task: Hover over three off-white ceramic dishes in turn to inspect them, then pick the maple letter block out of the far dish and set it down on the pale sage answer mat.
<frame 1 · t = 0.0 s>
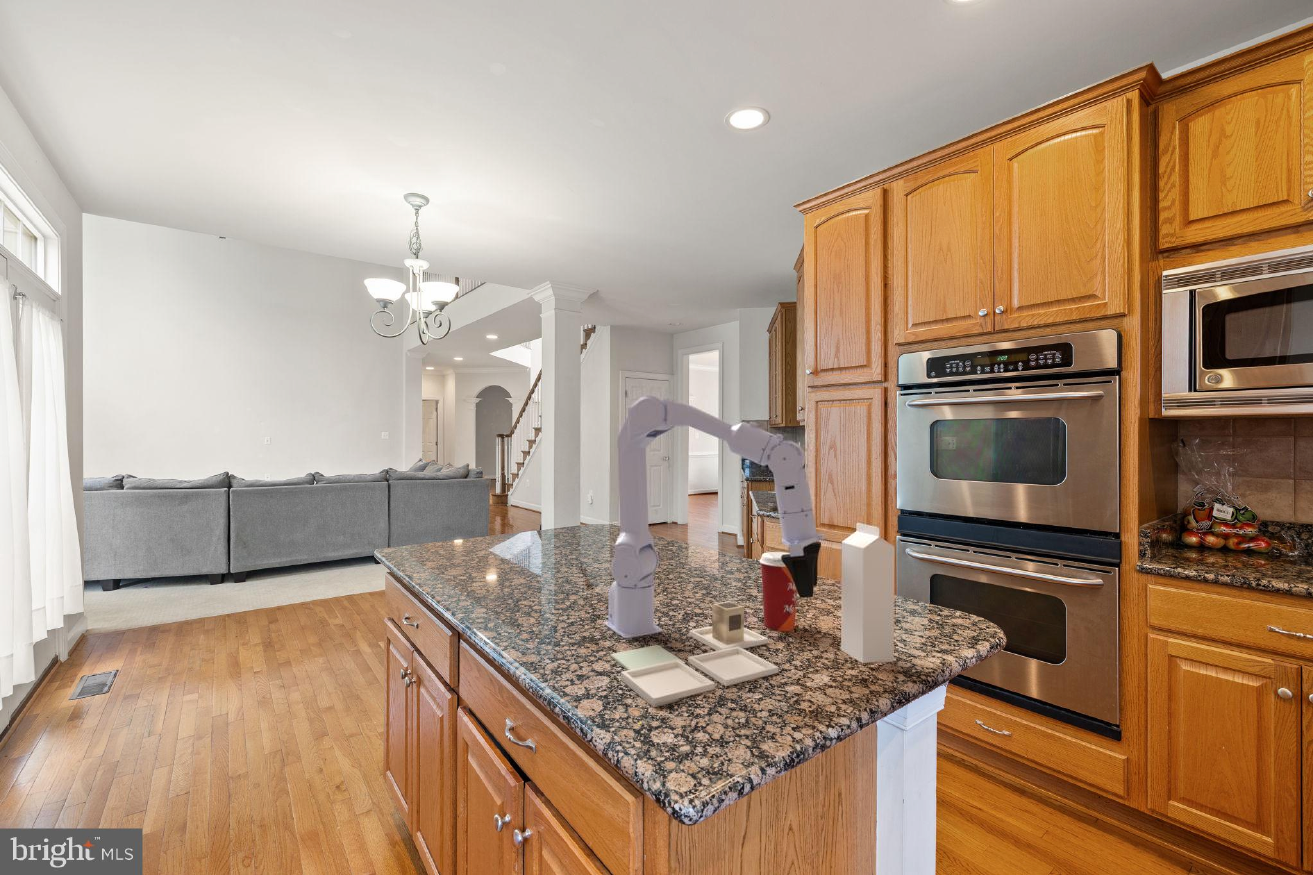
hand: (808, 591, 96), 11 cm above the countertop, tool pointing down, fingers open, 7 cm apart
dish b: (732, 669, 89), on the countertop
answer mat: (647, 660, 92), on the countertop
milk: (866, 658, 95), on the countertop
dish a: (666, 685, 83), on the countertop
dish c: (727, 641, 102), on the countertop
letter block: (727, 638, 102), resting on dish c
paper cup: (779, 629, 109), on the countertop
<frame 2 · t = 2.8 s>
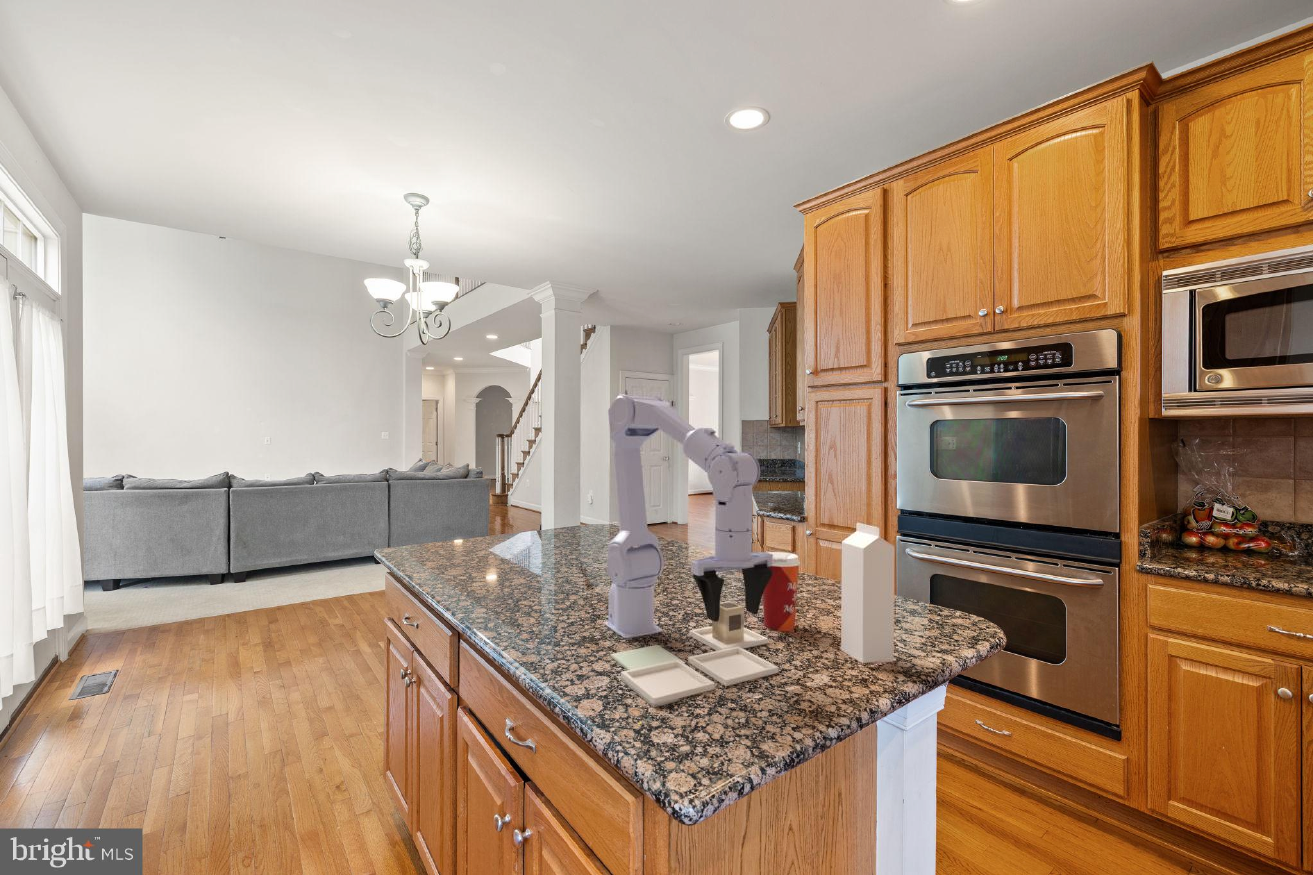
hand: (732, 615, 89), 8 cm above the countertop, tool pointing down, fingers open, 7 cm apart
nothing on the countertop moved.
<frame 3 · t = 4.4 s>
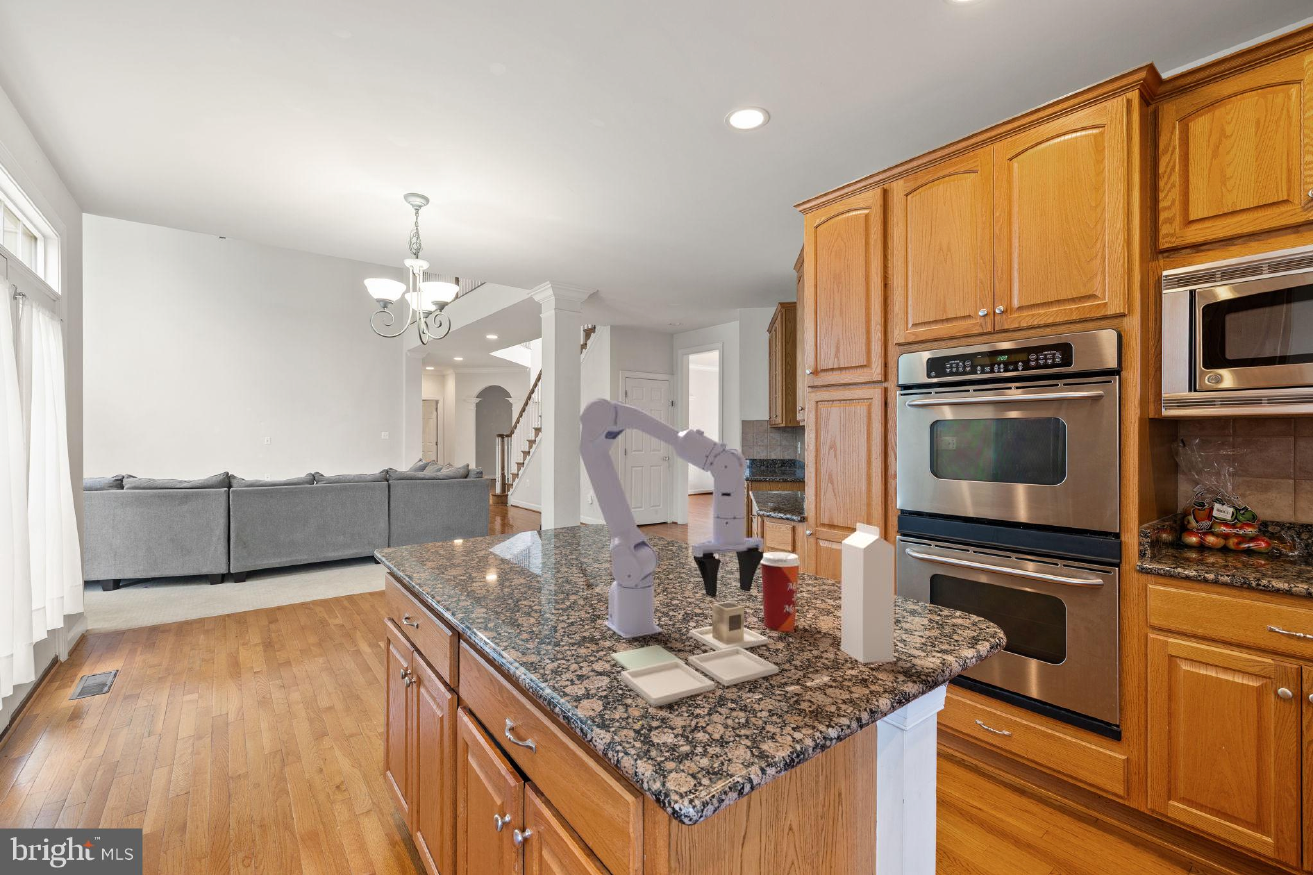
hand: (728, 592, 102), 9 cm above the countertop, tool pointing down, fingers open, 7 cm apart
nothing on the countertop moved.
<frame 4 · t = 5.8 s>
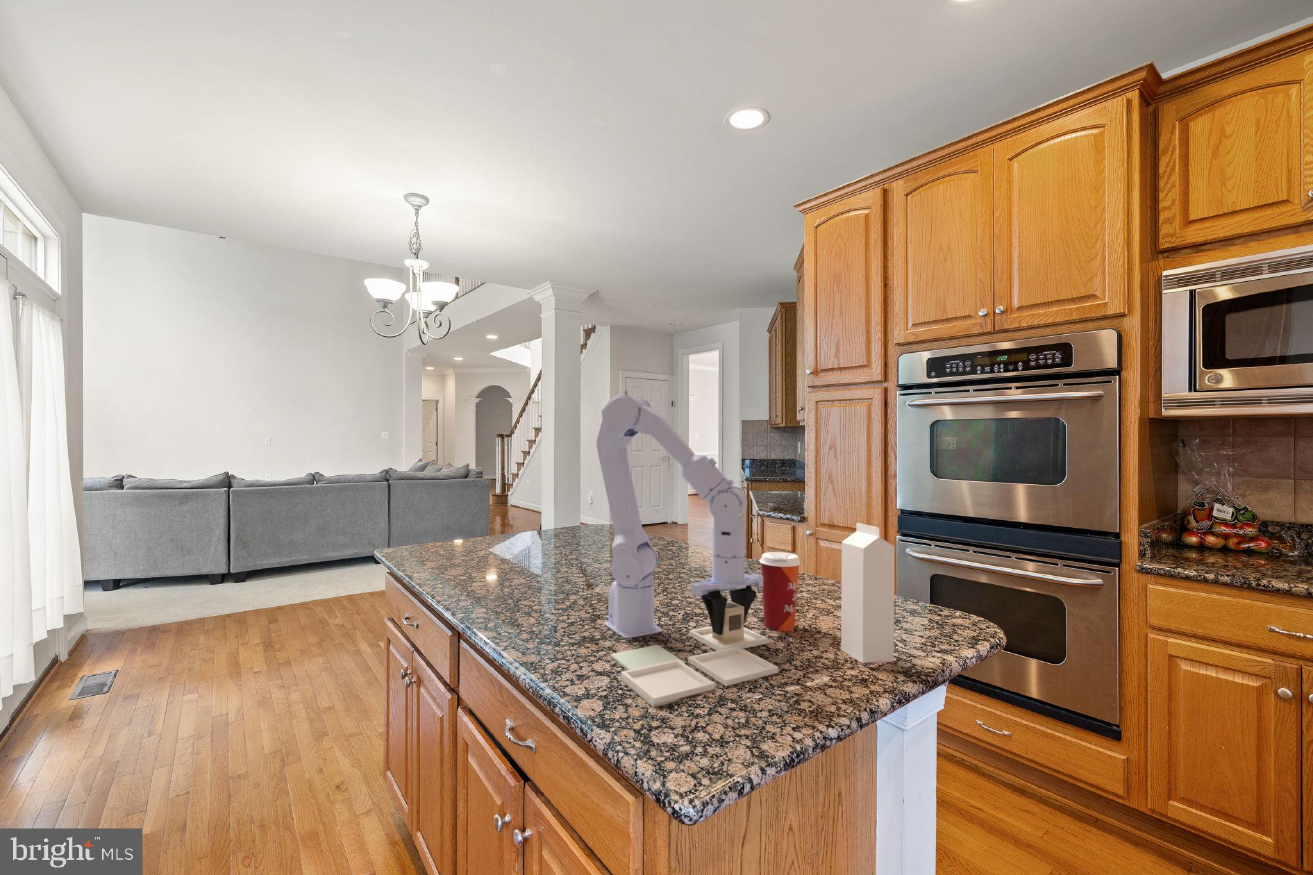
hand: (727, 631, 102), 2 cm above the countertop, tool pointing down, fingers closed on letter block, 4 cm apart
letter block: (727, 638, 102), resting on dish c, touching gripper
everything else where it was.
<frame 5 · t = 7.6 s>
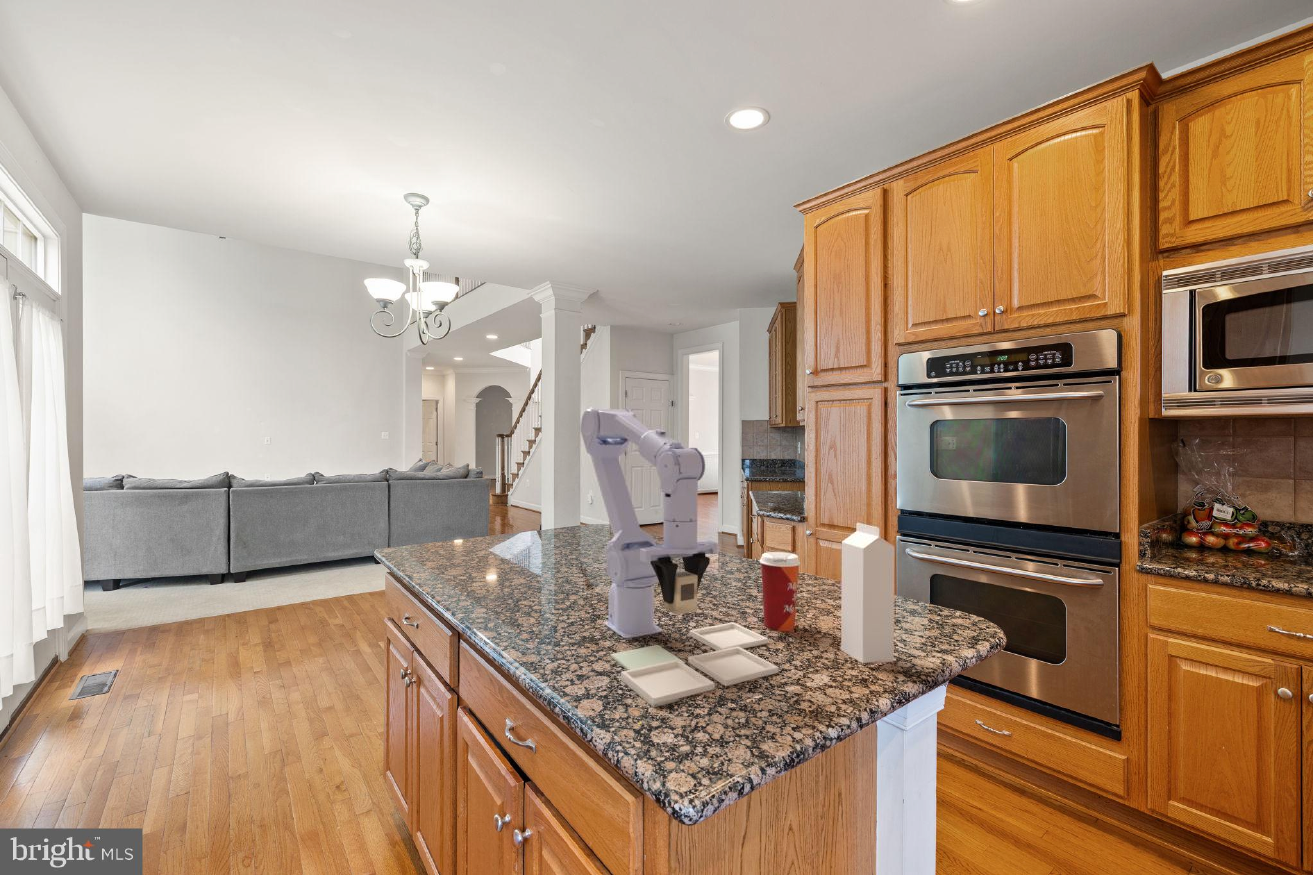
hand: (679, 600, 96), 9 cm above the countertop, tool pointing down, fingers closed on letter block, 4 cm apart
letter block: (680, 609, 96), point 7 cm above the countertop, touching gripper
everything else where it was.
when the fingers open (3 cm above the countertop, at t = 9.5 s): letter block drops 1 cm, resting on answer mat.
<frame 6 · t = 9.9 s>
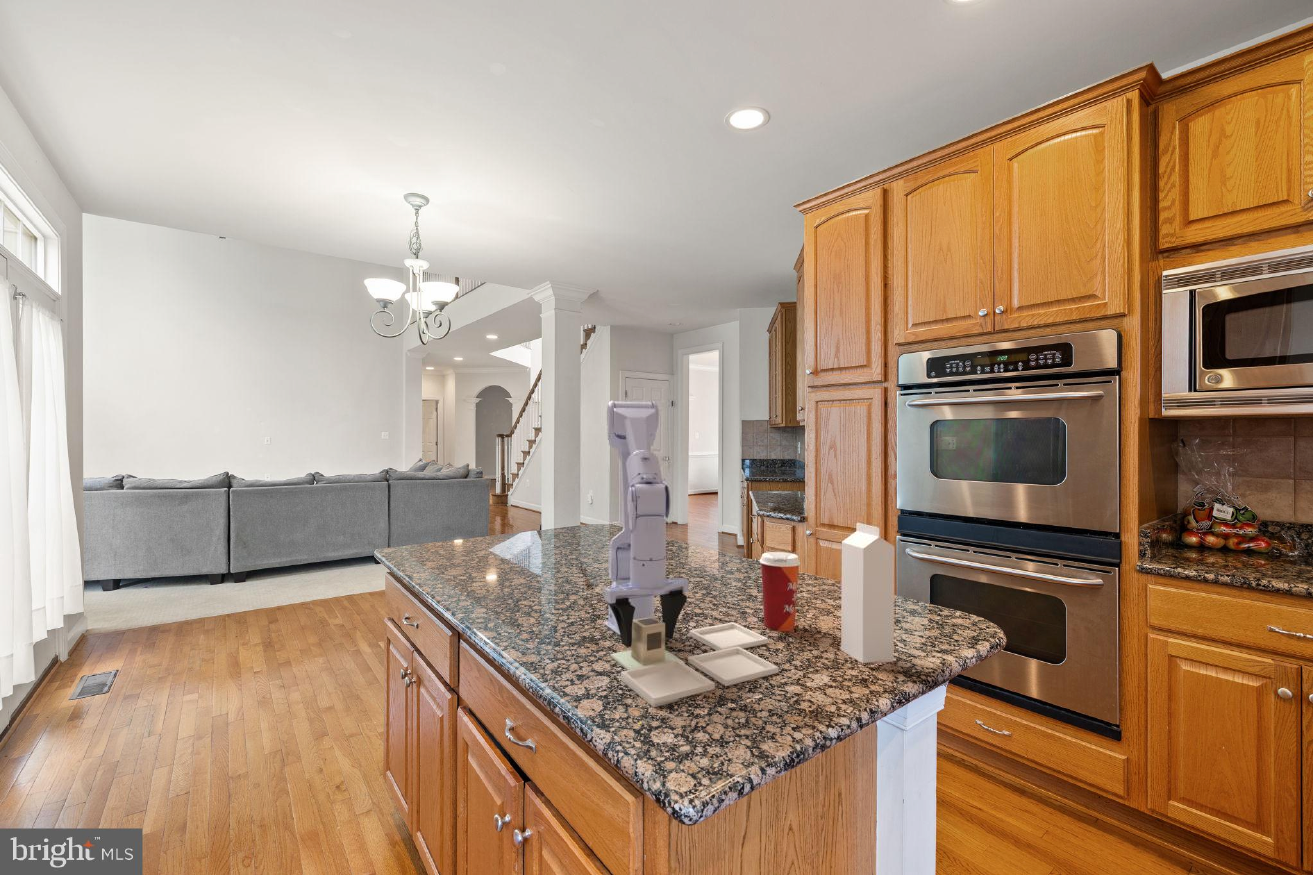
hand: (647, 640, 92), 3 cm above the countertop, tool pointing down, fingers open, 7 cm apart
letter block: (647, 658, 92), resting on answer mat
everything else where it was.
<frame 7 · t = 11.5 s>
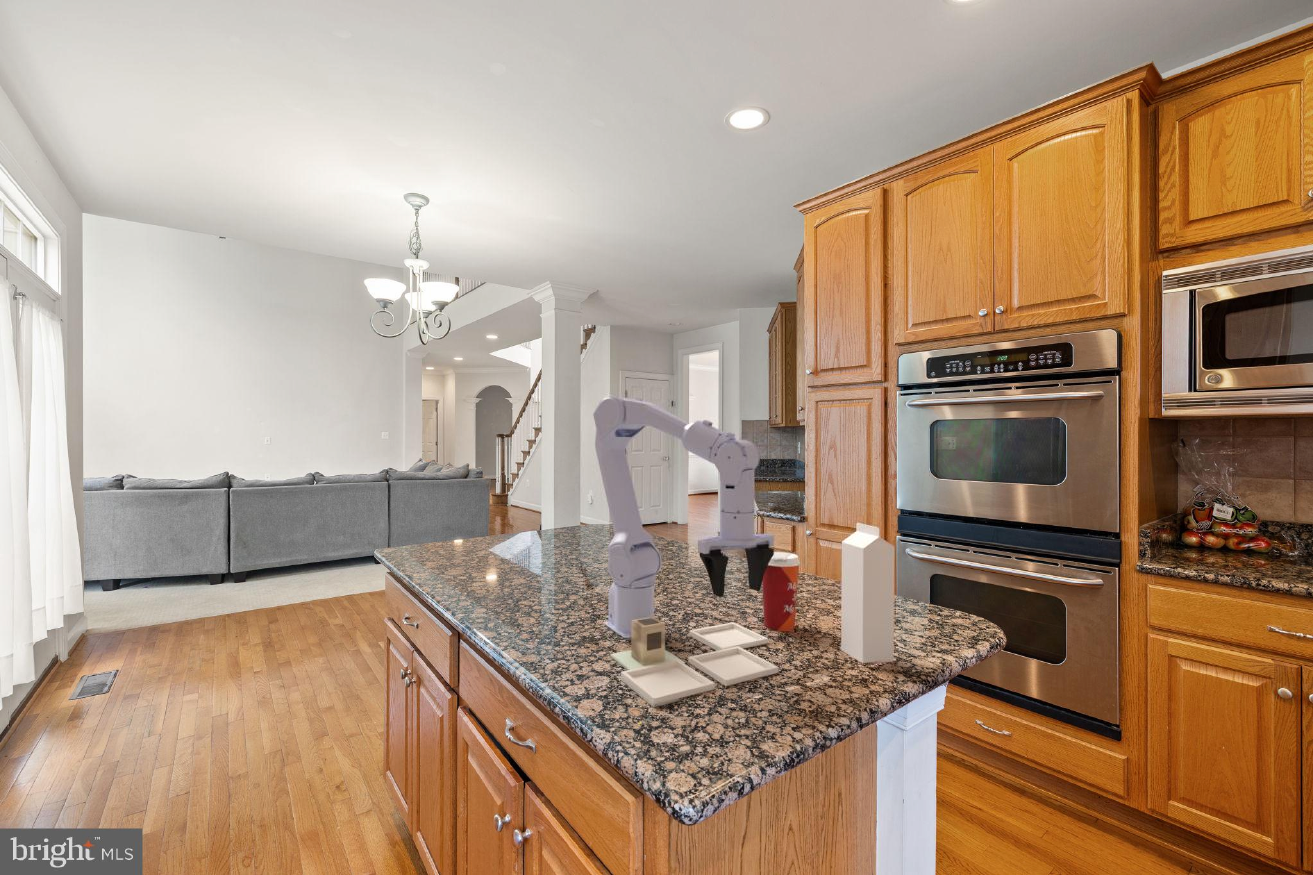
hand: (736, 592, 95), 10 cm above the countertop, tool pointing down, fingers open, 7 cm apart
nothing on the countertop moved.
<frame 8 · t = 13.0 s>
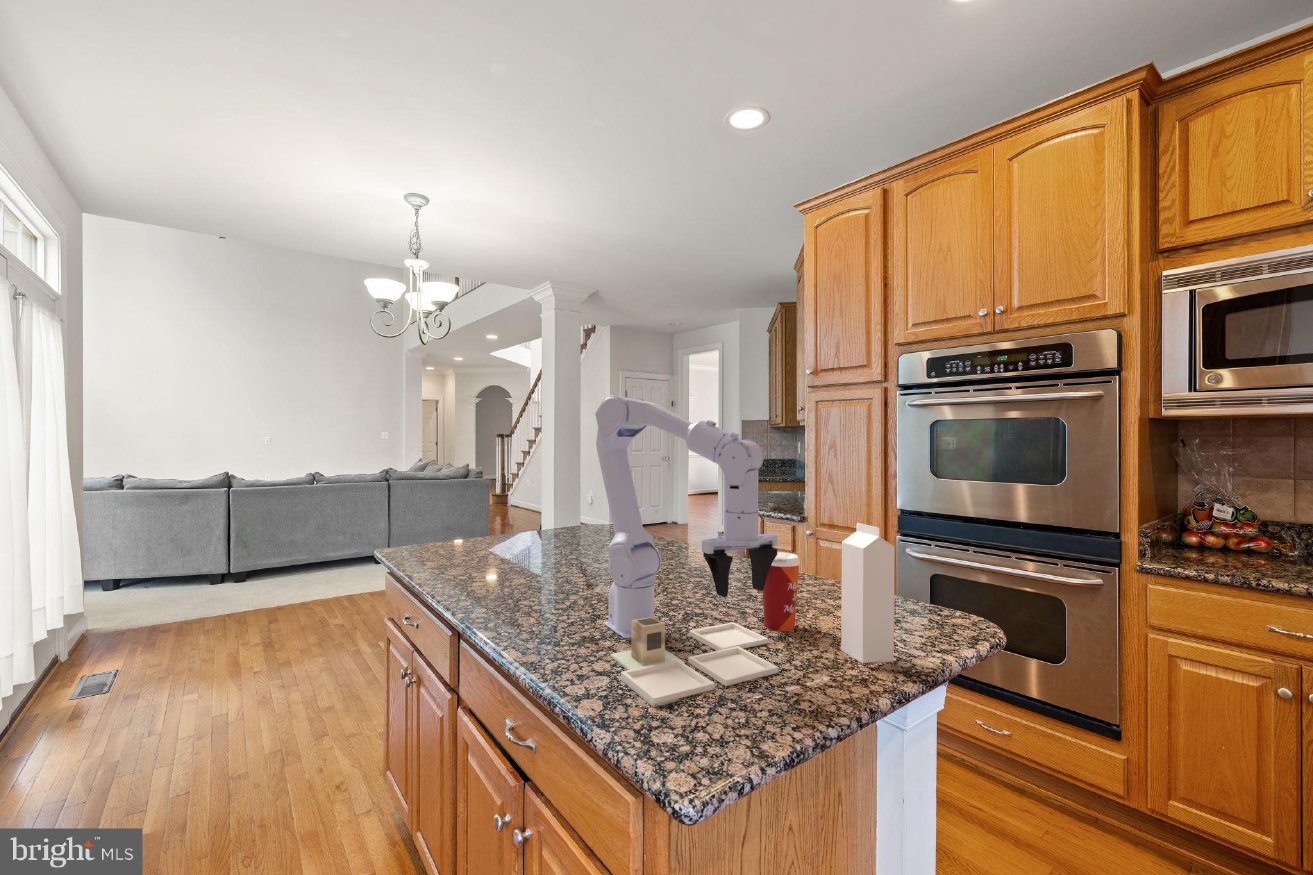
hand: (740, 592, 95), 10 cm above the countertop, tool pointing down, fingers open, 7 cm apart
nothing on the countertop moved.
at the end: letter block inside the target area on the answer mat (0.2 cm from its centre), point 0.4 cm above the answer mat's base; letter block tilted 0°; the gripper is holding nothing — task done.
